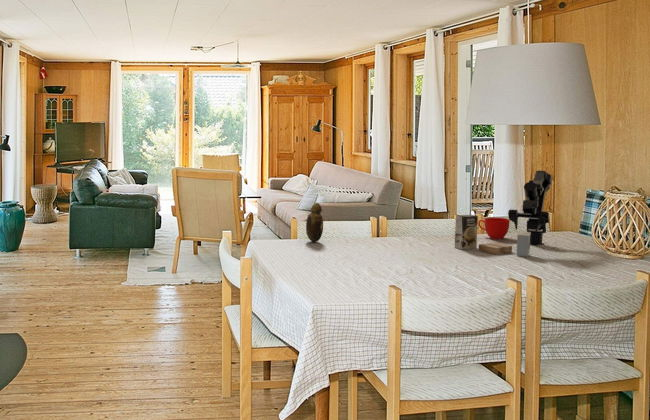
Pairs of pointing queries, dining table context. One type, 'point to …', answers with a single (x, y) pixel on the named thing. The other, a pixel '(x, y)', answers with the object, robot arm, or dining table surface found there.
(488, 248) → the tan wooden flat block
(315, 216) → the sculpture
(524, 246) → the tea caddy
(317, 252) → the dining table surface
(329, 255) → the dining table surface
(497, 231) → the ceramic cup
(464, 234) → the coffee box
